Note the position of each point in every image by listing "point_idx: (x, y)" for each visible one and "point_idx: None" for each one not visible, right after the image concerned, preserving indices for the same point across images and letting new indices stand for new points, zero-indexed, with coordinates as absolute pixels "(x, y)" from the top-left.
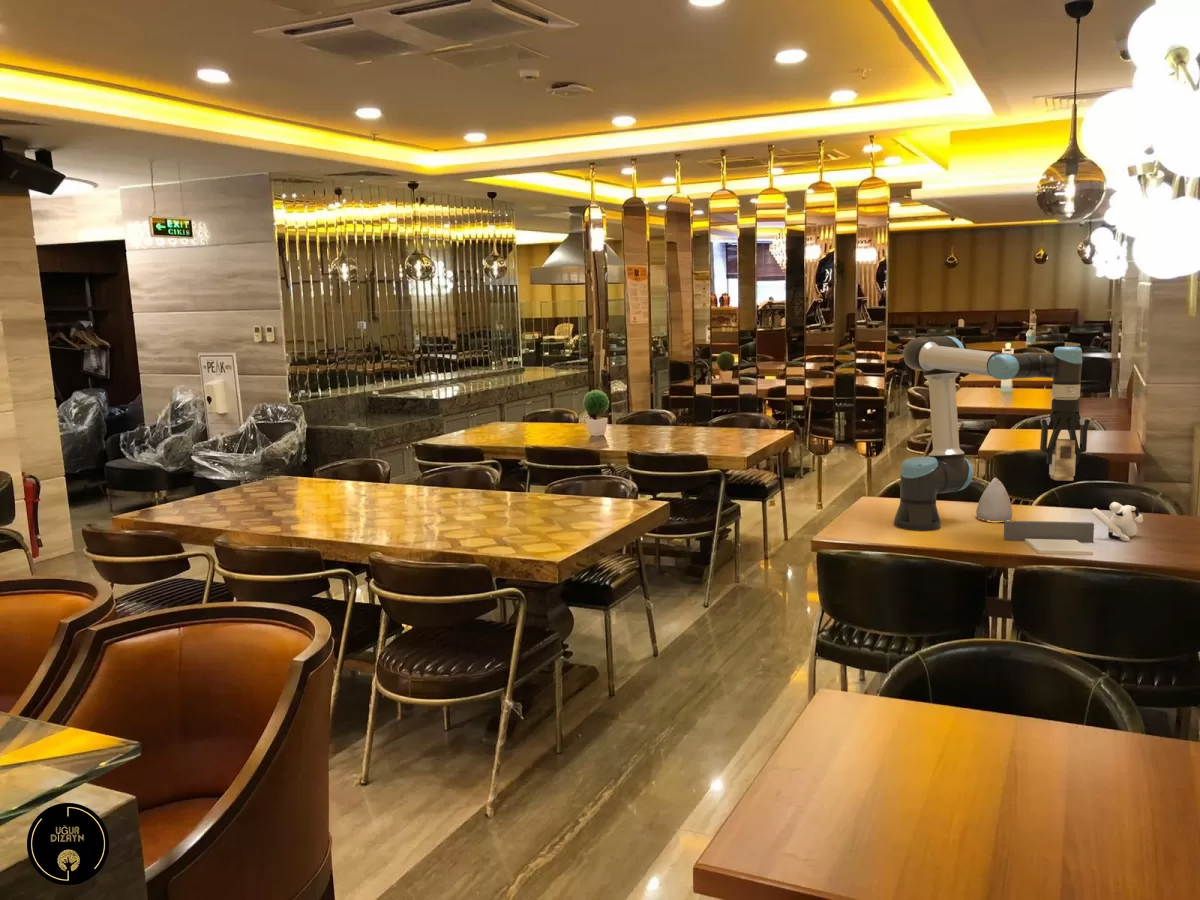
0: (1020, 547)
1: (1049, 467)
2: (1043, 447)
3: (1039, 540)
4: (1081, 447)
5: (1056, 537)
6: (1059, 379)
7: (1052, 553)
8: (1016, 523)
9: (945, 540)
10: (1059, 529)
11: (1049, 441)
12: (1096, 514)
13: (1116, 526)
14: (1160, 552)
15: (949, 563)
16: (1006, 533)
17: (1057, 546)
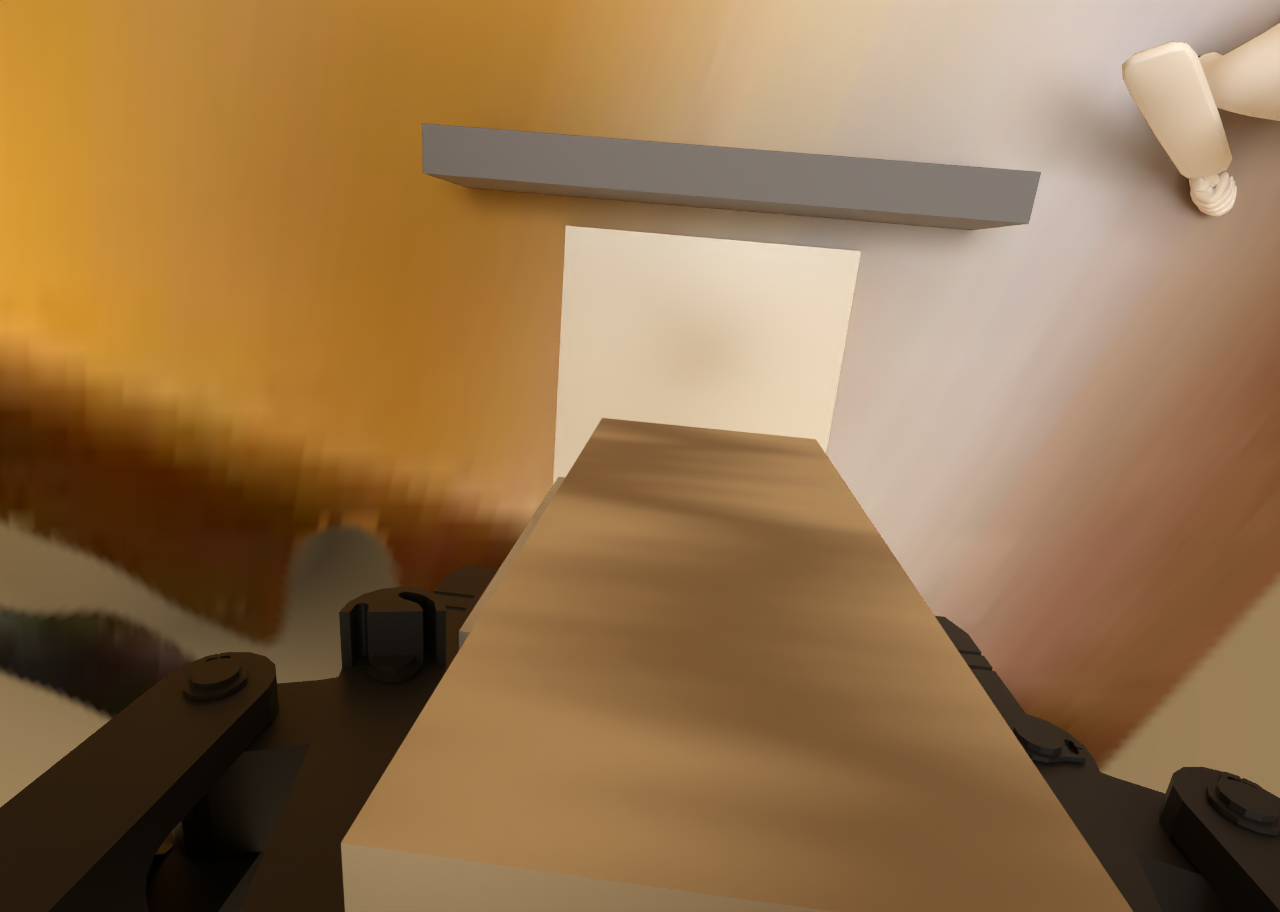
0: (505, 364)
1: (536, 517)
2: (165, 893)
3: (634, 272)
4: (1240, 899)
5: (759, 210)
6: None
7: None
8: (496, 179)
9: (139, 203)
10: (781, 207)
11: (253, 893)
12: (1143, 93)
13: (1221, 153)
14: (1210, 465)
15: (135, 653)
16: (459, 183)
17: (678, 419)
